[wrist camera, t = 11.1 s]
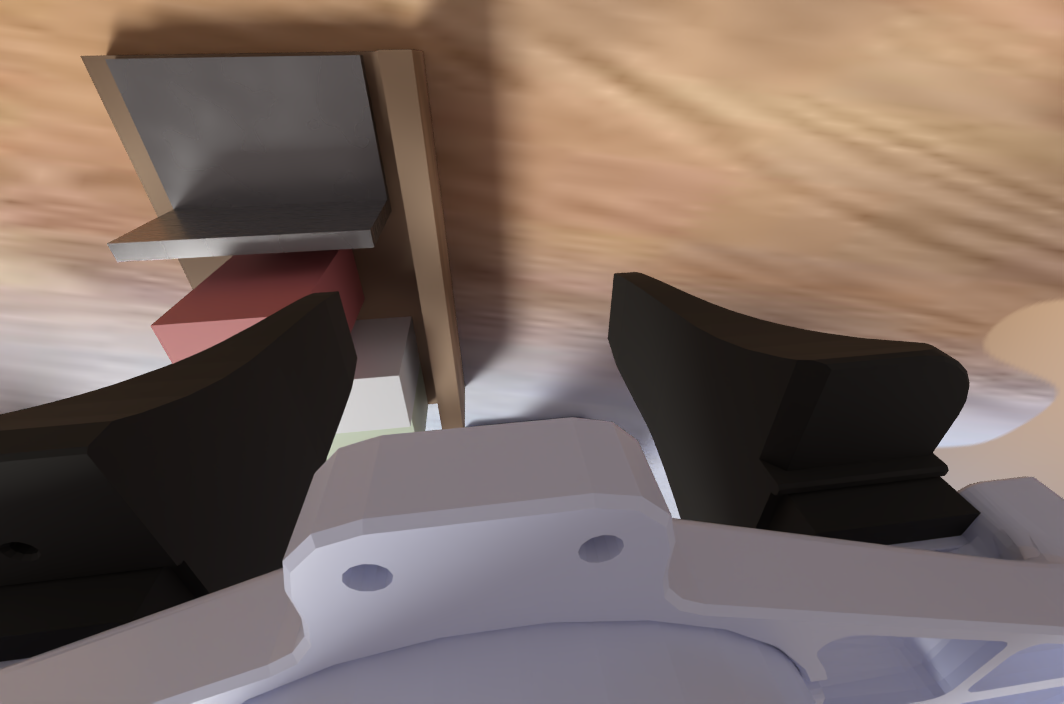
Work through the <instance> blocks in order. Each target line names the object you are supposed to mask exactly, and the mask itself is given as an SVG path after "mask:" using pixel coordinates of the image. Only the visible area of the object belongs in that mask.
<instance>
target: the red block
mask: <svg viewBox="0 0 1064 704" xmlns="http://www.w3.org/2000/svg"><path fill="white" fill-rule="evenodd" d="M335 291H339V294H340V298H341V301H342V305H343V308H344V312H345V315H346V319H347V322H348V326H349V330H350V333H351V331H352V329H353V326H354V324H355V321H356V319H357V317H358V314H359V312H360V310H361V307H362V305H363V302H364V300H365V298H364V294H363V290H362V286H361V282H360V278H359V274H358V271H357V267H356V263H355V259H354V255H353V251H352V249H339V250H321V251H303V252H285V253H267V254H249V255H233V256H232V257H231V258H230V259H229V260H227V261H226V262H225V263H224V264H223V265H222V266H220V267H219V268H218V269H217V270H216V271H215V272H213V273H212V274H211V275H210V276H209V277H207V278H206V279H205V280H204V281H203V282H202V283H200V284H199V285H198V286H197V287H196V288H194V289H193V290H192V291H191V292H190V293H189V294H187V295H186V296H185V297H184V298H183V299H182V300H180V301H179V302H178V303H177V304H176V305H174V306H173V307H172V308H171V309H170V310H169V311H167V312H166V313H165V314H164V315H163V316H161V317H160V318H159V319H158V320H157V321H156V322H154V323H153V324H152V325H151V327H152V329H153V331H154V333H155V334H156V336H157V338H158V339H159V341H160V343H161V345H162V346H163V348H164V350H165V352H166V353H167V355H168V357H169V359H170V360H171V362H172V364H173V363H176V362H178V361H180V360H183V359H185V358H187V357H190V356H192V355H194V354H197V353H199V352H201V351H203V350H206V349H208V348H210V347H212V346H214V345H216V344H218V343H220V342H222V341H224V340H226V339H228V338H230V337H232V336H234V335H235V334H237V333H239V332H241V331H243V330H245V329H247V328H249V327H251V326H252V325H254V324H256V323H258V322H260V321H261V320H263V319H265V318H267V317H268V316H270V315H272V314H274V313H275V312H277V311H279V310H281V309H282V308H284V307H286V306H288V305H289V304H291V303H293V302H295V301H297V300H299V299H301V298H303V297H305V296H307V295H309V294H312V293H320V292H335Z"/></svg>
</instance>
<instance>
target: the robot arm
mask: <svg viewBox="0 0 1064 704" xmlns="http://www.w3.org/2000/svg"><path fill="white" fill-rule="evenodd" d="M608 340H609V343H610V347H611V350H612V353H613V356H614V359H615V362H616V365H617V367H618V369H619V371H620V373H621V375H622V377H623V379H624V381H625V383H626V385H627V387H628V389H629V391H630V393H631V395H632V397H633V399H634V401H635V403H636V405H637V407H638V409H639V411H640V412H641V414H642V416H643V418H644V420H645V422H646V424H647V426H648V428H649V431H650V433H651V435H652V437H653V440H654V442H655V445H656V448H657V450H658V453H659V456H660V459H661V461H662V464H663V467H664V469H665V472H666V475H667V478H668V481H669V484H670V487H671V490H672V493H673V496H674V499H675V502H676V505H677V508H678V512H679V515H680V518H681V519H675V518H672V516H671V513H670V511H669V509H668V507H667V504H666V502H665V500H664V498H663V495H662V493H661V491H660V489H659V487H658V484H657V482H656V480H655V478H654V475H653V473H652V471H651V469H650V466H649V464H648V462H647V460H646V458H645V455H644V453H643V451H642V449H641V446H640V444H639V442H638V440H636V439H635V438H634V437H632V436H631V435H630V434H628V433H627V432H625V431H624V430H623V429H621V428H620V427H619V426H617V425H616V424H615V423H613V422H610V421H601V420H592V419H586V418H574V417H569V418H558V419H548V420H537V421H526V422H516V423H505V424H495V425H484V426H474V427H463V428H453V429H442V430H432V431H421V432H410V433H400V434H389V435H381V436H377V437H374V438H371V439H367V440H364V441H361V442H357V443H354V444H351V445H347V446H344V447H341V448H338V449H337V450H336V452H335V453H334V454H333V455H332V456H331V457H330V458H329V459H328V460H327V456H328V454H329V451H330V448H331V445H332V443H333V440H334V437H335V435H336V432H337V429H338V426H339V424H340V421H341V418H342V415H343V413H344V410H345V407H346V404H347V401H348V399H349V396H350V393H351V390H352V386H353V381H354V376H355V370H356V364H357V354H356V351H355V347H354V344H353V340H352V337H351V333H350V330H349V326H348V322H347V319H346V315H345V312H344V308H343V305H342V301H341V298H340V294H339V291H335V292H320V293H312V294H309V295H307V296H305V297H303V298H301V299H299V300H297V301H295V302H293V303H291V304H289V305H288V306H286V307H284V308H282V309H281V310H279V311H277V312H275V313H274V314H272V315H270V316H268V317H267V318H265V319H263V320H261V321H260V322H258V323H256V324H254V325H252V326H251V327H249V328H247V329H245V330H243V331H241V332H239V333H237V334H235V335H234V336H232V337H230V338H228V339H226V340H224V341H222V342H220V343H218V344H216V345H214V346H212V347H210V348H208V349H206V350H203V351H201V352H199V353H197V354H194V355H192V356H190V357H187V358H185V359H183V360H180V361H178V362H176V363H173V364H170V365H168V366H165V367H163V368H160V369H157V370H154V371H151V372H148V373H146V374H143V375H140V376H137V377H134V378H131V379H129V380H126V381H123V382H120V383H117V384H114V385H111V386H108V387H104V388H101V389H98V390H94V391H91V392H88V393H84V394H81V395H77V396H73V397H70V398H66V399H62V400H59V401H55V402H51V403H47V404H43V405H39V406H35V407H31V408H27V409H23V410H18V411H14V412H9V413H5V414H0V704H1064V499H1063V498H1061V497H1060V496H1059V495H1057V494H1056V493H1055V492H1053V491H1052V490H1050V489H1049V488H1048V487H1046V486H1045V485H1044V484H1042V483H1041V482H1039V481H1038V480H1037V479H1036V478H1034V477H1017V478H1009V479H1001V480H992V481H984V482H977V483H973V484H970V485H967V486H966V487H964V488H962V489H960V490H959V491H956V490H955V489H953V488H952V487H951V486H950V485H949V484H948V483H947V482H946V481H944V480H943V479H942V478H941V477H940V476H945V475H946V474H947V472H948V467H947V465H946V464H945V463H944V462H943V461H941V460H940V459H939V458H938V457H937V456H936V455H934V454H933V451H934V450H935V448H936V447H937V446H938V444H939V443H940V441H941V440H942V438H943V437H944V435H945V434H946V433H947V431H948V430H949V428H950V427H951V425H952V424H953V422H954V421H955V419H956V418H957V417H958V415H959V413H960V411H961V410H962V408H963V406H964V404H965V402H966V399H967V395H968V390H969V378H968V374H967V370H966V369H965V368H964V367H963V366H962V365H961V364H960V363H959V362H958V361H957V360H955V359H954V358H952V357H950V356H949V355H947V354H945V353H944V352H942V351H941V350H939V349H937V348H936V347H934V346H932V345H929V344H926V343H917V342H904V341H891V340H878V339H866V338H857V337H849V336H842V335H835V334H827V333H821V332H815V331H810V330H804V329H799V328H795V327H790V326H785V325H781V324H776V323H772V322H768V321H764V320H760V319H757V318H754V317H750V316H747V315H744V314H740V313H737V312H734V311H731V310H728V309H725V308H722V307H720V306H717V305H715V304H712V303H710V302H707V301H704V300H702V299H700V298H697V297H695V296H692V295H690V294H688V293H686V292H683V291H681V290H679V289H677V288H675V287H672V286H670V285H668V284H666V283H664V282H661V281H659V280H657V279H655V278H652V277H650V276H647V275H645V274H642V273H638V272H630V273H615V274H614V279H613V290H612V301H611V311H610V322H609V332H608ZM326 460H327V461H326Z"/></svg>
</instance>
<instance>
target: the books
mask: <svg viewBox="0 0 1064 704" xmlns="http://www.w3.org/2000/svg"><path fill="white" fill-rule="evenodd" d="M351 337H352V340H353V344H354V347H355V351H356V354H357V364H356V370H355V376H354V381H353V386H352V390H351V393H350V396H349V399H348V401H347V404H346V407H345V410H344V413H343V415H342V418H341V421H340V424H339V426H338V429H337V432H336V435H335V437H334V440H333V443H332V445H331V448H330V451H329V454H328V456H327V460H328V459H329V458H330V457H331V456H332V455H333V454H334V453H335V452H336V450H337V449H338V448H341V447H344V446H347V445H351V444H354V443H357V442H361V441H364V440H367V439H371V438H374V437H377V436H381V435H389V434H400V433H410V432H421V431H425V428H426V418H427V409H428V401H427V396H426V391H425V385H424V380H423V375H422V369H421V364H420V359H419V353H418V348H417V343H416V337H415V332H414V327H413V321H412V316H408V317H394V318H379V319H365V320H356V321H355V324H354V326H353V329H352V331H351ZM327 460H326V461H327Z"/></svg>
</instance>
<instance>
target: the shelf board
mask: <svg viewBox="0 0 1064 704" xmlns="http://www.w3.org/2000/svg"><path fill="white" fill-rule="evenodd" d="M330 55H363V60H364V65H365V71H366V76H367V81H368V87H369V92H370V97H371V103H372V108H373V113H374V119H375V124H376V129H377V135H378V140H379V145H380V151H381V156H382V161H383V167H384V172H385V177H386V183H387V188H388V193H389V199H390V204H391V209H392V212H391V214H390V216H389V218H388V220H387V222H386V224H385V226H384V228H383V230H382V232H381V234H380V236H379V238H378V240H377V242H376V245H375V247H374V248H357V249H352V251H353V255H354V259H355V263H356V267H357V271H358V274H359V278H360V282H361V286H362V290H363V294H364V298H365V300H364V302H363V305H362V307H361V310H360V312H359V314H358V317H357V319H356V320H365V319H379V318H394V317H408V316H412V321H413V327H414V332H415V337H416V343H417V348H418V353H419V359H420V364H421V369H422V375H423V380H424V385H425V391H426V396H427V401H428V404H436V403H438V408H439V414H440V420H441V426H442V429H453V428H463V427H465V385H464V377H463V369H462V360H461V352H460V344H459V336H458V328H457V320H456V312H455V304H454V296H453V288H452V280H451V272H450V264H449V256H448V248H447V240H446V232H445V224H444V216H443V208H442V200H441V192H440V184H439V175H438V167H437V159H436V151H435V143H434V135H433V127H432V119H431V111H430V103H429V95H428V87H427V79H426V71H425V63H424V55H423V51H419V50H412V49H406V50H377V51H372V52H306V53H240V54H174V55H108V56H81V58H82V60H83V62H84V64H85V66H86V68H87V71H88V73H89V75H90V77H91V79H92V81H93V83H94V85H95V87H96V89H97V91H98V93H99V95H100V98H101V100H102V102H103V104H104V106H105V108H106V110H107V112H108V114H109V116H110V118H111V120H112V123H113V125H114V127H115V129H116V131H117V133H118V135H119V137H120V139H121V141H122V143H123V145H124V147H125V150H126V152H127V154H128V156H129V158H130V160H131V162H132V164H133V166H134V168H135V170H136V172H137V174H138V177H139V179H140V181H141V183H142V185H143V187H144V189H145V191H146V193H147V195H148V197H149V199H150V201H151V204H152V206H153V208H154V210H155V212H156V214H157V216H158V217H160V216H161V215H163V214H165V213H167V212H169V211H171V210H173V207H172V205H171V203H170V201H169V198H168V196H167V194H166V192H165V190H164V187H163V185H162V183H161V181H160V179H159V176H158V174H157V172H156V170H155V168H154V166H153V163H152V161H151V159H150V157H149V155H148V152H147V150H146V148H145V146H144V144H143V141H142V139H141V137H140V135H139V133H138V131H137V128H136V126H135V124H134V122H133V120H132V117H131V115H130V113H129V111H128V109H127V107H126V104H125V102H124V100H123V98H122V96H121V93H120V91H119V89H118V87H117V85H116V82H115V80H114V78H113V76H112V74H111V72H110V69H109V67H108V65H107V63H106V61H105V59H141V58H204V57H267V56H330ZM232 256H233V255H231V256H213V257H195V258H178V260H179V262H180V264H181V266H182V268H183V270H184V272H185V274H186V276H187V278H188V280H189V283H190V285H191V287H192V289H194V288H196V287H197V286H198V285H199V284H200V283H202V282H203V281H204V280H205V279H206V278H207V277H209V276H210V275H211V274H212V273H213V272H215V271H216V270H217V269H218V268H219V267H220V266H222V265H223V264H224V263H225V262H226V261H227V260H229V259H230V258H231V257H232Z"/></svg>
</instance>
